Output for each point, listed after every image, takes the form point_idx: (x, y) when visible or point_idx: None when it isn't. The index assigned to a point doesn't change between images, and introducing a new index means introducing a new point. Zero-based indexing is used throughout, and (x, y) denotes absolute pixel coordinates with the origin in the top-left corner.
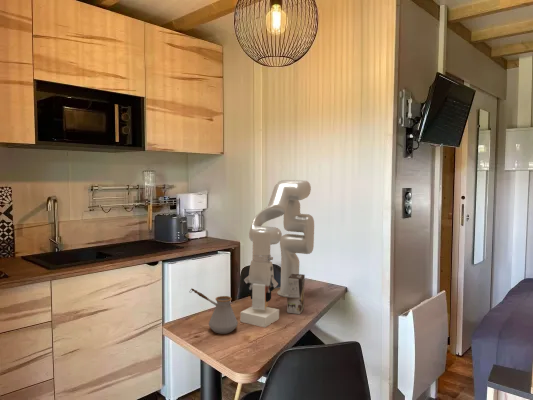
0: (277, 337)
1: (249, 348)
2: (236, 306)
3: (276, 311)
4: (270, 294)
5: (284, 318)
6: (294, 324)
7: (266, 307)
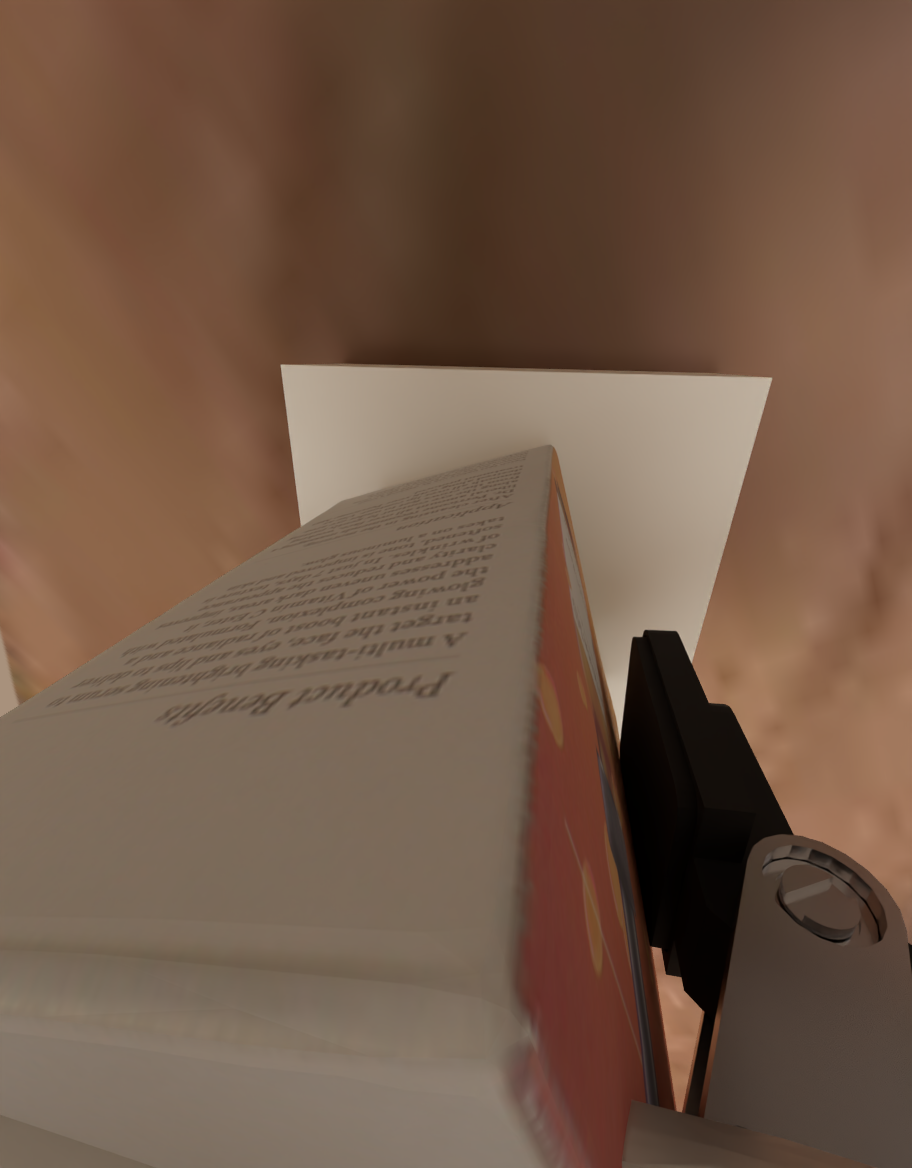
0: (832, 829)
1: (669, 981)
2: (8, 257)
3: (739, 481)
4: (756, 818)
5: (804, 310)
6: None
7: (510, 408)
